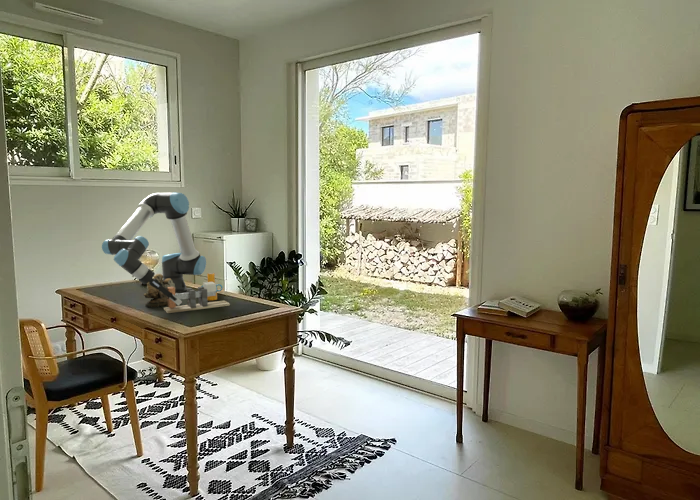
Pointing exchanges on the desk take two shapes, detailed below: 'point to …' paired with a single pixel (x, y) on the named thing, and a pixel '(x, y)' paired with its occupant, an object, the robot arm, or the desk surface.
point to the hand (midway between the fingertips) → (179, 302)
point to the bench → (186, 308)
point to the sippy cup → (212, 279)
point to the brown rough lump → (158, 292)
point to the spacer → (209, 286)
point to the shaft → (184, 296)
